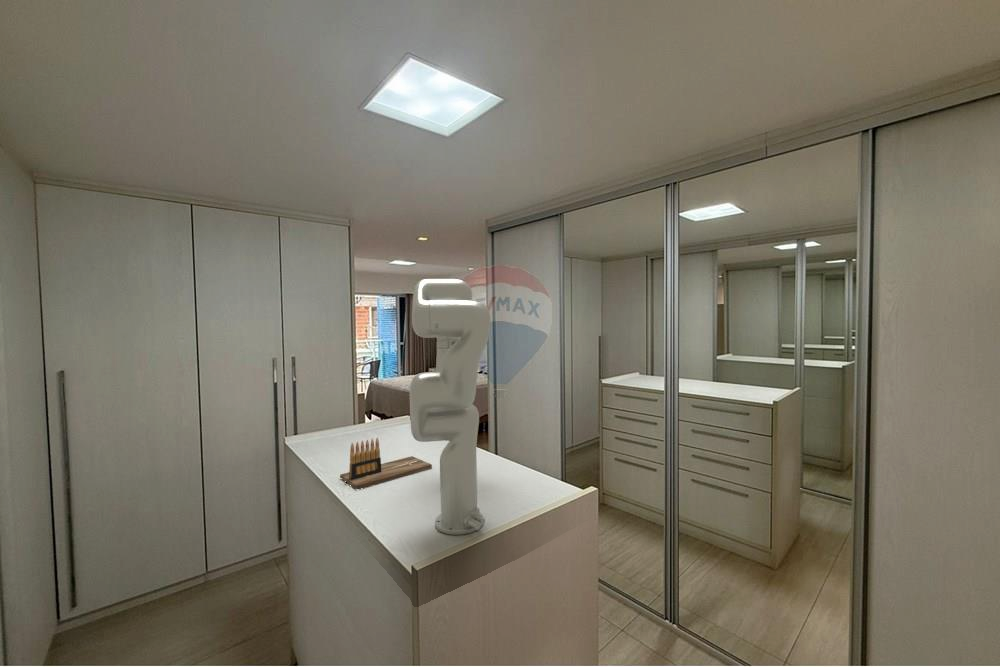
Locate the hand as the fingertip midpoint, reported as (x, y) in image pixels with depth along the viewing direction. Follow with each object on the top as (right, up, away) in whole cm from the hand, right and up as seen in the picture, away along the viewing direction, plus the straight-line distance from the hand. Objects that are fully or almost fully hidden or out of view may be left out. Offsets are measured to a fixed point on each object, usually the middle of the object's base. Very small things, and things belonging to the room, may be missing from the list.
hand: (449, 396), depth 136 cm
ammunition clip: (-29, -27, +3) cm, 40 cm away
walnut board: (-23, -29, +9) cm, 38 cm away
